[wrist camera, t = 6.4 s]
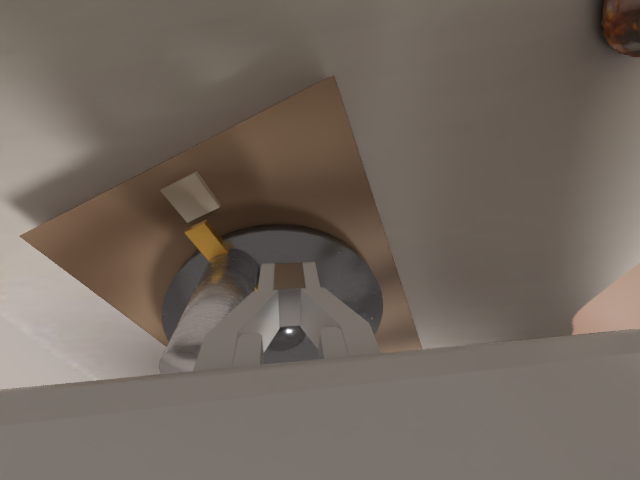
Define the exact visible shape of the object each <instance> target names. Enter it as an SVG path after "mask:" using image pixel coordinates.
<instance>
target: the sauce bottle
mask: <svg viewBox="0 0 640 480" xmlns="http://www.w3.org/2000/svg"><path fill="white" fill-rule="evenodd" d="M601 25H602V26H603V31H602V34H603V36H604V38H605V39H606V40H607V43H608V44H609V45H610V46H611V47H612V48H613V49H614V50H616V51H618V52H619V53H623V54H626V55H630V56H632V57H640V0H604V5H603V19H602V21H601Z"/></svg>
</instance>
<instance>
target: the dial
mask: <svg viewBox="0 0 640 480" xmlns="http://www.w3.org/2000/svg"><path fill="white" fill-rule="evenodd" d="M184 233H185V234H186V235H187V237H188V238H189V239H190V240H191V241H192V242H193V243H194V245H195V246H196V247H197V248H198V250H197V251H196V252H194V253H193V254H192V255H191V256H190V257H189V259H188V260H187V261H186V262H185V263H184V264H183V266H182V267H181V268H180V270H179V271H178V273H177V274H176V276H175V277H174V279H173V280H172V282H171V284H170V285H169V287H168V290H167V292H166V294H165V296H164V300H163V305H162V324H163V330H164V332H165V335H166V337H167V340H168V341H169V343H168V345H167V347H166V349H165V352H164V354H163V356H162V358H161V360H160V363H159V369H160V372H161V374H170V373H180V372H191V371H193V369H194V366H195V363H196V360H197V357H198V355H199V352H200V349H201V346H202V343H203V340H204V337H205V335H206V334H207V333H208V332H209V331H210V330H211V329H212V328H213V327H215V326H216V325H217V324H218V323H219V322H220V321H221V320H222V319H223V318H224V317H226V316H227V315H228V314H229V313H230V312H231V311H232V310H233V309H234V308H235V307H237V306H238V305H239V304H240V303H241V302H242V301H243V300H244V299H245V298H246V297H247V296H249V295H250V294H251V293H252V292H253V291H258V284H259V276H260V269H261V264H262V263H302V262H315V264H316V269H317V273H318V278H319V283H320V287H321V288H323V287H324V288H325V289H327V290H328V291H329V292H331V293H332V294H333V295H334V296H336V297H337V298H338V299H339V300H341V301H342V302H343V303H344V304H346V305H347V306H348V307H349V308H351V309H352V310H353V311H354V312H356V313H357V314H358V315H360V316H361V317H362V318H363V319H365V320H366V321H367V322H368V323H369V324H370V326H371V329H372V331H373V334H374V336H375V334H376V333H377V330H378V328H379V326H380V323H381V319H382V315H383V297H382V293H381V289H380V286H379V284H378V282H377V280H376V278H375V276H374V274H373V272H372V270H371V268H370V266H369V265H368V264H367V262H366V261H365V259H364V258H363V257H362V256H361V255H360V254H359V253H358V252H357V251H356V250H355V249H354V248H353V247H351V246H350V245H349V244H347V243H346V242H344V241H343V240H341V239H339V238H337V237H335V236H333V235H331V234H329V233H326V232H324V231H321V230H318V229H314V228H310V227H306V226H301V225H292V224H264V225H256V226H250V227H246V228H242V229H238V230H234V231H232V232H229V233H227V234H224V235H222V236H219V234H218V233H217V232H216V230H215V229H214V228H213V227H212V225H211V224H210V223H209V221H208V220H207V219H206V220H204V221H202V222H200V223H198V224H196V225H194V226H192V227H189V228H187V230H186V231H185V232H184ZM316 359H318V349H317V348H316V346H315V345H314V344H313V342H312V341H311V340H310V338H309V337H308V336H307V335H306V333H305V332H304V331H303V329H302V328H301V327H300V326H286V327H279V330H278V332H277V333H276V335H275V336H274V338H273V339H272V341H271V342H270V344H269V346H268V347H267V349H266V350H265V352H264V362H265V364H274V363H285V362H295V361H306V360H316Z"/></svg>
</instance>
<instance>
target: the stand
mask: <svg viewBox="0 0 640 480" xmlns="http://www.w3.org/2000/svg"><path fill="white" fill-rule="evenodd" d="M206 219H207V220H208V221H209V223H210V224H211V225H212V227H213V228H214V229H215V230H216V232H217V233H218V234H219V236H222V235H224V234H227V233H229V232H232V231H234V230H238V229H242V228H246V227H250V226H256V225H264V224H292V225H301V226H306V227H310V228H314V229H318V230H321V231H324V232H326V233H329V234H331V235H333V236H335V237H337V238H339V239H341V240H343V241H344V242H346V243H347V244H349V245H350V246H351V247H353V248H354V249H355V250H356V251H357V252H358V253H359V254H360V255H361V256H362V257H363V258H364V259H365V261H366V262H367V264H368V265H369V266H370V268H371V270H372V272H373V274H374V276H375V278H376V280H377V282H378V284H379V286H380V289H381V293H382V297H383V315H382V319H381V323H380V326H379V328H378V330H377V333H376V334H375V339H376V342H377V344H378V347H379V349H380V352H381V353H390V352H401V351H411V350H422V347H421V344H420V340H419V337H418V334H417V331H416V328H415V325H414V322H413V319H412V316H411V313H410V310H409V306H408V303H407V300H406V297H405V294H404V291H403V288H402V285H401V282H400V279H399V275H398V272H397V269H396V266H395V263H394V260H393V257H392V254H391V251H390V248H389V244H388V241H387V238H386V235H385V232H384V229H383V226H382V223H381V220H380V217H379V214H378V210H377V207H376V204H375V201H374V198H373V195H372V192H371V189H370V186H369V183H368V179H367V176H366V173H365V170H364V167H363V164H362V161H361V158H360V155H359V152H358V148H357V145H356V142H355V139H354V136H353V133H352V130H351V127H350V124H349V121H348V118H347V114H346V111H345V108H344V105H343V102H342V99H341V96H340V93H339V90H338V87H337V83H336V80H335V77H334V75H333V76H331V77H329V78H327V79H325V80H323V81H321V82H319V83H317V84H315V85H313V86H311V87H309V88H307V89H305V90H303V91H301V92H299V93H297V94H296V95H294V96H292V97H290V98H288V99H286V100H284V101H282V102H280V103H278V104H276V105H274V106H272V107H270V108H268V109H266V110H264V111H262V112H260V113H258V114H256V115H255V116H253V117H251V118H249V119H247V120H245V121H243V122H241V123H239V124H237V125H235V126H233V127H231V128H229V129H227V130H225V131H223V132H221V133H219V134H217V135H216V136H214V137H212V138H210V139H208V140H206V141H204V142H202V143H200V144H198V145H196V146H194V147H192V148H190V149H188V150H186V151H184V152H182V153H180V154H178V155H177V156H175V157H173V158H171V159H169V160H167V161H165V162H163V163H161V164H159V165H157V166H155V167H153V168H151V169H149V170H147V171H145V172H143V173H141V174H139V175H137V176H136V177H134V178H132V179H130V180H128V181H126V182H124V183H122V184H120V185H118V186H116V187H114V188H112V189H110V190H108V191H106V192H104V193H102V194H100V195H98V196H97V197H95V198H93V199H91V200H89V201H87V202H85V203H83V204H81V205H79V206H77V207H75V208H73V209H71V210H69V211H67V212H65V213H63V214H61V215H59V216H58V217H56V218H54V219H52V220H50V221H48V222H46V223H44V224H42V225H40V226H38V227H36V228H34V229H32V230H30V231H28V232H26V233H24V234H22V235H20V237H21V238H22V239H24V240H25V241H26V242H28V243H29V244H30V245H32V246H33V247H34V248H36V249H37V250H38V251H40V252H41V253H42V254H44V255H45V256H46V257H48V258H49V259H50V260H52V261H53V262H54V263H56V264H57V265H58V266H60V267H61V268H62V269H64V270H65V271H66V272H68V273H69V274H70V275H72V276H73V277H74V278H76V279H77V280H78V281H80V282H81V283H82V284H84V285H85V286H86V287H88V288H89V289H90V290H92V291H93V292H94V293H96V294H97V295H98V296H100V297H101V298H102V299H104V300H105V301H106V302H108V303H109V304H110V305H112V306H113V307H114V308H116V309H117V310H118V311H120V312H121V313H122V314H124V315H125V316H126V317H128V318H129V319H130V320H132V321H133V322H134V323H136V324H137V325H138V326H140V327H141V328H142V329H144V330H145V331H146V332H148V333H149V334H150V335H152V336H153V337H154V338H156V339H157V340H158V341H160V342H161V343H162V344H164V345H165V346H166V347H167V345H168V343H169V341H168V340H167V337H166V335H165V332H164V330H163V324H162V305H163V300H164V296H165V294H166V292H167V290H168V287H169V285H170V284H171V282H172V280H173V279H174V277H175V276H176V274H177V273H178V271H179V270H180V268H181V267H182V266H183V264H184V263H185V262H186V261H187V260H188V259H189V257H190V256H191V255H192V254H193V253H194V252H196V251H197V250H198V248H197V247H196V246H195V245H194V243H193V242H192V241H191V240H190V239H189V238H188V237H187V235H186V234H185V233H184V232H185V231H186V230H187V228H189V227H192V226H194V225H196V224H198V223H200V222H202V221H204V220H206Z"/></svg>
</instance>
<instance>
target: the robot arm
mask: <svg viewBox="0 0 640 480" xmlns="http://www.w3.org/2000/svg"><path fill="white" fill-rule="evenodd" d="M286 326H300V327H301V328H302V329H303V331H304V332H305V333H306V335H307V336H308V337H309V338H310V340H311V341H312V342H313V344H314V345H315V346H316V348H317V349H318V359H316V360H306V361H295V362H285V363H274V364H265V362H264V352H265V350H266V349H267V347H268V346H269V344H270V342H271V341H272V339H273V338H274V336H275V335H276V333H277V332H278V330H279V327H286ZM0 480H640V329H629V330H620V331H610V332H600V333H589V334H579V335H568V336H558V337H547V338H537V339H527V340H516V341H506V342H495V343H485V344H474V345H464V346H453V347H443V348H432V349H422V350H411V351H401V352H390V353H381V352H380V349H379V347H378V344H377V342H376V339H375V336H374V334H373V331H372V329H371V326H370V324H369V323H368V322H367V321H366V320H365V319H363V318H362V317H361V316H360V315H358V314H357V313H356V312H354V311H353V310H352V309H351V308H349V307H348V306H347V305H346V304H344V303H343V302H342V301H341V300H339V299H338V298H337V297H336V296H334V295H333V294H332V293H331V292H329V291H328V290H327V289H325V288H324V287H323V288H321V287H320V283H319V278H318V273H317V269H316V264H315V262H302V263H262V264H261V269H260V276H259V284H258V291H253V292H252V293H251V294H250V295H249V296H247V297H246V298H245V299H244V300H243V301H242V302H241V303H240V304H239V305H238V306H237V307H235V308H234V309H233V310H232V311H231V312H230V313H229V314H228V315H227V316H226V317H224V318H223V319H222V320H221V321H220V322H219V323H218V324H217V325H216V326H215V327H213V328H212V329H211V330H210V331H209V332H208V333H207V334H206V335H205V337H204V340H203V343H202V346H201V349H200V352H199V355H198V357H197V360H196V363H195V366H194V369H193V371H191V372H180V373H170V374H159V375H149V376H138V377H128V378H117V379H107V380H96V381H86V382H75V383H65V384H55V385H45V386H33V387H23V388H13V389H2V390H0Z"/></svg>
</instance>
